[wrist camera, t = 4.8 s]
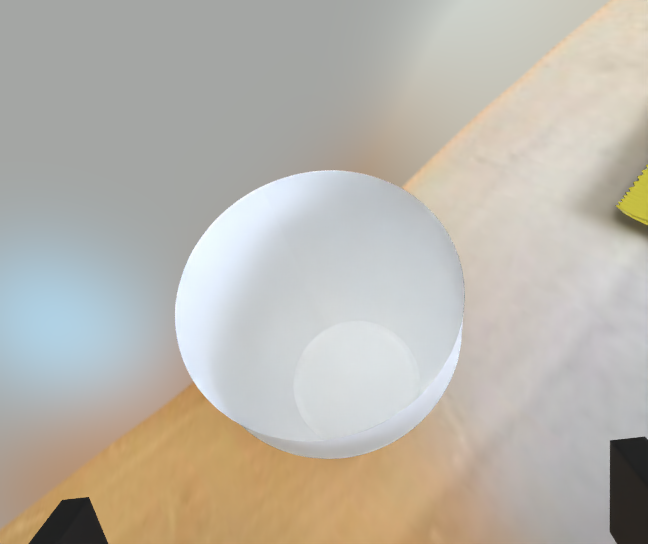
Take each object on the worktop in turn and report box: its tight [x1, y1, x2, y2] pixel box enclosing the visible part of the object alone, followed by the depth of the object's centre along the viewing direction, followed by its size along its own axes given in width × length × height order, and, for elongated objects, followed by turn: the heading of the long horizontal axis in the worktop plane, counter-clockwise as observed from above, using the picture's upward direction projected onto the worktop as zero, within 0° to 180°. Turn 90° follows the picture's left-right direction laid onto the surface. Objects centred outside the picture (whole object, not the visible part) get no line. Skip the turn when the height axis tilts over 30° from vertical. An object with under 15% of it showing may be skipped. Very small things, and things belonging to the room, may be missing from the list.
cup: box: [175, 170, 465, 459], centre depth 19 cm, size 9×9×12 cm
